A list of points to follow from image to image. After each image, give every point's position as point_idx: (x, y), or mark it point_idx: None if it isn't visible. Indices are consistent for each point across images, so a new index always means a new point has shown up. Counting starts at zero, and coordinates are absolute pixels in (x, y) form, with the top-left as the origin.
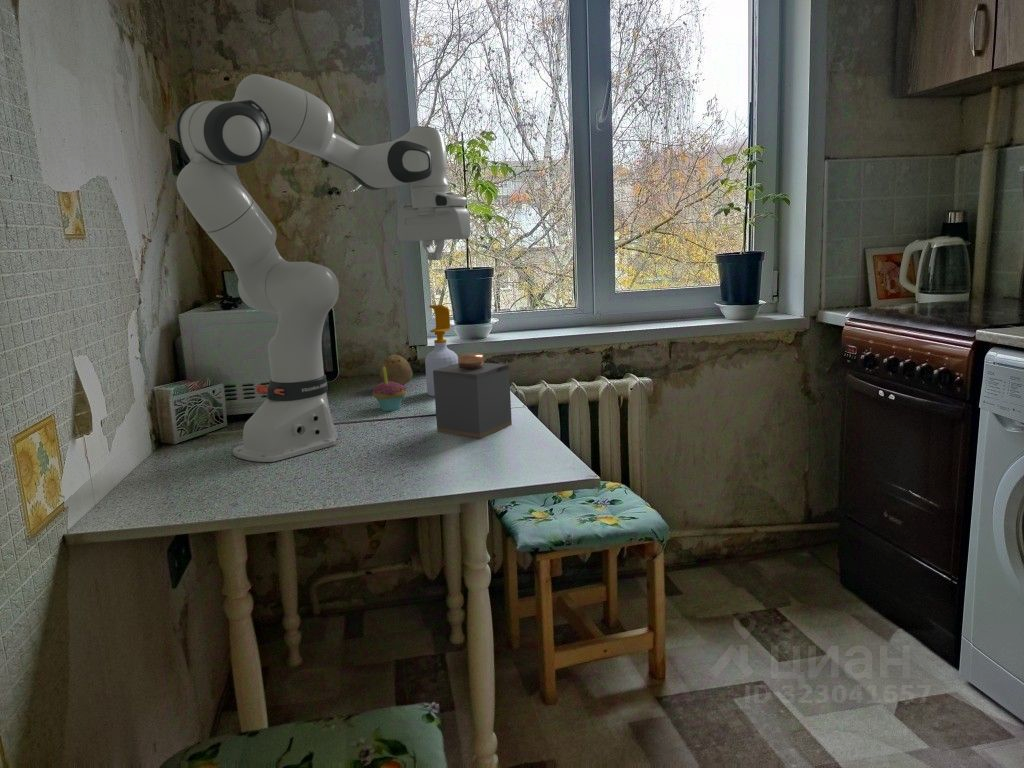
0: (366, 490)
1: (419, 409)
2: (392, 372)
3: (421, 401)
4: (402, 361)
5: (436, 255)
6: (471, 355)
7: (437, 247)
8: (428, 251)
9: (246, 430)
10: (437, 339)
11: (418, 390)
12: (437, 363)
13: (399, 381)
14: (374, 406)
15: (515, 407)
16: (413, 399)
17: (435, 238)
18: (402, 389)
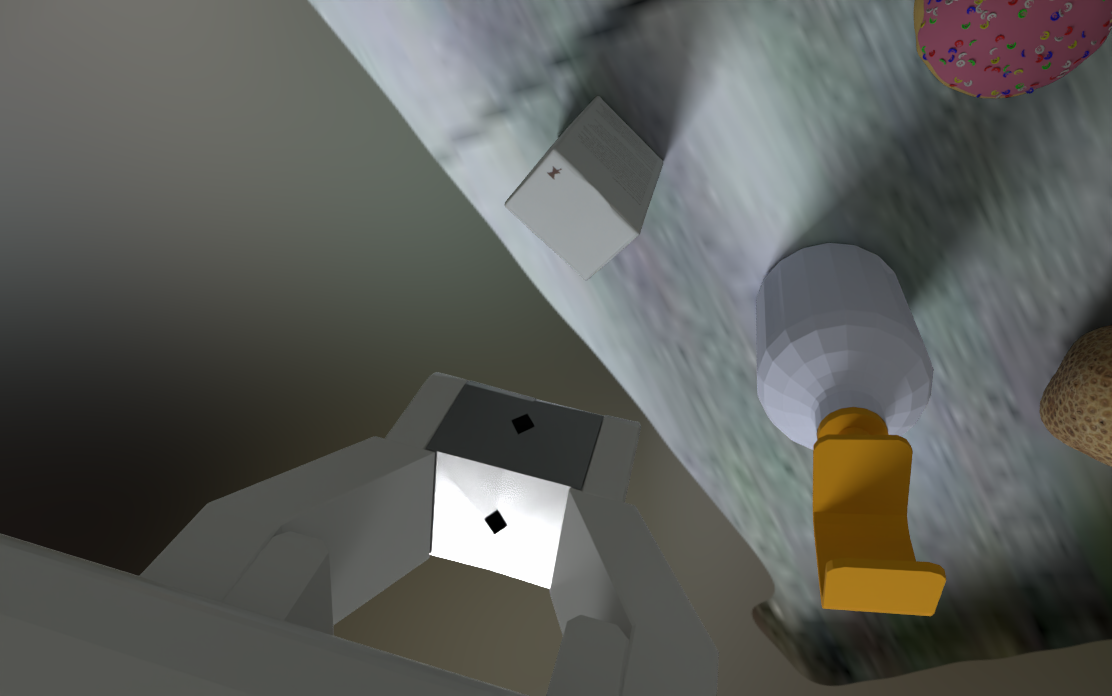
0: None
1: (825, 24)
2: None
3: (876, 161)
4: (1102, 408)
5: (410, 402)
6: None
7: (287, 483)
8: (579, 504)
9: None
10: (866, 434)
11: (972, 335)
12: (830, 308)
13: (1084, 336)
14: None
15: (447, 156)
16: (933, 187)
17: (104, 597)
18: (925, 10)
